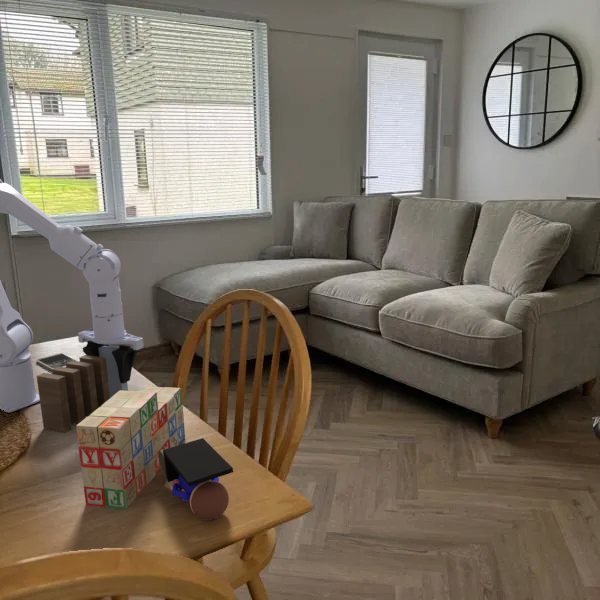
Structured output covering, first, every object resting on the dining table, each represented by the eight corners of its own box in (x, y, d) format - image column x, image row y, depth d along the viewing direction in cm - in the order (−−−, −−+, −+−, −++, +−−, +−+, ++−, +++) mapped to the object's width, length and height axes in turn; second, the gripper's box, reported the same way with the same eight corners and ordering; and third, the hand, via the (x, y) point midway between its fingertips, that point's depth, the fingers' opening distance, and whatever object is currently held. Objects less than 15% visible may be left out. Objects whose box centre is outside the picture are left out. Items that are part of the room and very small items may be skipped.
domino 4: (105, 410, 113) (99, 360, 111) (85, 406, 115) (79, 357, 113) (111, 407, 115) (105, 357, 112) (91, 403, 117) (85, 354, 114)
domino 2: (79, 425, 107) (72, 372, 105) (58, 420, 109) (51, 369, 107) (85, 421, 109) (79, 369, 106) (64, 417, 111) (58, 366, 108)
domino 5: (123, 399, 118) (118, 350, 115) (103, 395, 120) (98, 348, 117) (128, 396, 119) (124, 348, 117) (109, 392, 121) (104, 345, 119)
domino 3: (92, 417, 110) (86, 366, 108) (72, 413, 112) (65, 363, 110) (98, 414, 112) (93, 363, 109) (78, 410, 114) (72, 360, 111)
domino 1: (64, 433, 104) (58, 379, 102) (43, 428, 106) (36, 375, 104) (71, 429, 106) (65, 376, 103) (50, 424, 108) (43, 372, 105)
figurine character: (157, 491, 88) (193, 533, 75) (151, 441, 87) (186, 476, 74) (201, 477, 92) (242, 516, 78) (195, 430, 90) (236, 461, 77)
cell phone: (54, 375, 134) (53, 369, 133) (35, 364, 141) (34, 358, 141) (81, 368, 138) (80, 362, 137) (60, 357, 146) (60, 352, 145)
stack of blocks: (151, 436, 103) (145, 368, 100) (186, 438, 101) (180, 370, 98) (84, 506, 82) (75, 424, 79) (126, 510, 81) (118, 427, 78)
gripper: (150, 311, 116) (156, 377, 119) (93, 305, 122) (99, 368, 125) (126, 321, 110) (133, 390, 113) (67, 314, 115) (75, 380, 119)
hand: (114, 379), depth 118 cm, fingers closed on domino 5, 5 cm apart
